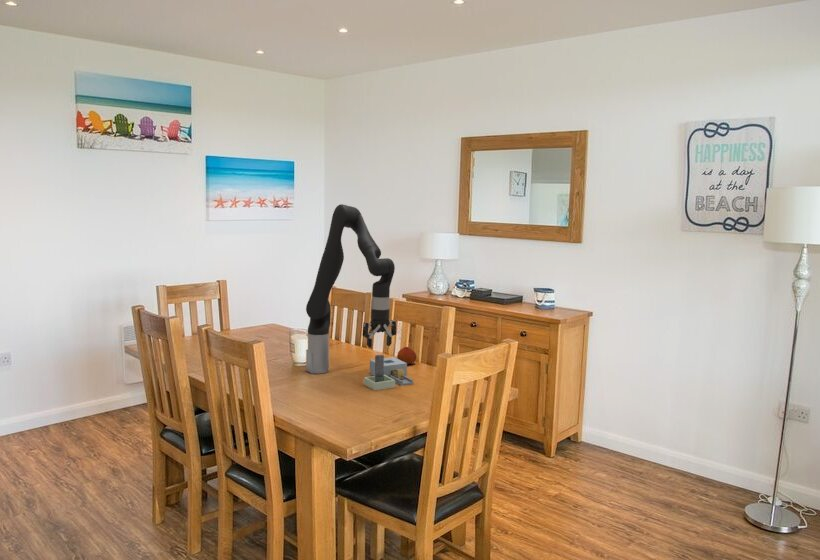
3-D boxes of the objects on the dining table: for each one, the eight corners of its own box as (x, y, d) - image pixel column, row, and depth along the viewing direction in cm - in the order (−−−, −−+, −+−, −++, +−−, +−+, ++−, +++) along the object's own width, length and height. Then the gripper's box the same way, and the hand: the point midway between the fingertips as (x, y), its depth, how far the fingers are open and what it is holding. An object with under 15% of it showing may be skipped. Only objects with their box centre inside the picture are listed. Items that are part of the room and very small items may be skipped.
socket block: (419, 383, 272) (420, 369, 271) (394, 386, 266) (394, 372, 265) (393, 370, 291) (393, 357, 291) (369, 373, 285) (369, 359, 285)
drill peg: (377, 386, 264) (377, 357, 263) (373, 383, 267) (373, 355, 266) (385, 384, 266) (385, 356, 265) (381, 382, 269) (381, 354, 268)
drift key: (404, 378, 274) (404, 369, 274) (397, 379, 273) (398, 370, 272) (393, 373, 282) (394, 364, 281) (387, 374, 280) (387, 365, 280)
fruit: (405, 367, 297) (405, 350, 296) (393, 363, 304) (393, 346, 303) (420, 364, 302) (420, 347, 301) (408, 360, 309) (408, 344, 308)
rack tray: (374, 390, 260) (374, 383, 260) (363, 384, 268) (363, 377, 268) (395, 387, 265) (395, 380, 265) (384, 381, 273) (384, 374, 273)
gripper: (391, 305, 269) (390, 343, 271) (360, 306, 262) (359, 345, 264) (400, 308, 262) (398, 347, 264) (368, 309, 255) (367, 350, 257)
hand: (379, 346), depth 264 cm, fingers open, 8 cm apart
